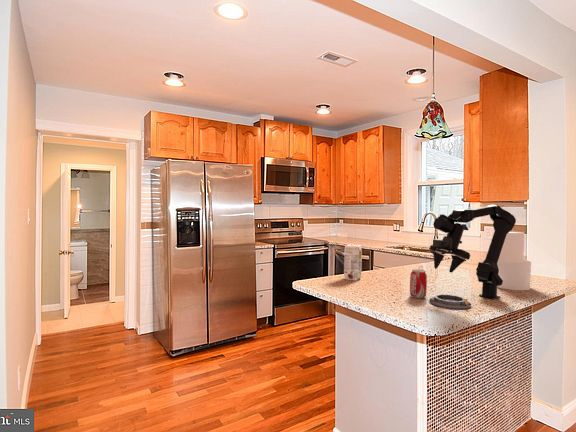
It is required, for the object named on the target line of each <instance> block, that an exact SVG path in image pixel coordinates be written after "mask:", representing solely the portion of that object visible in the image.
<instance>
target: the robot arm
mask: <svg viewBox="0 0 576 432" xmlns="http://www.w3.org/2000/svg"><path fill="white" fill-rule="evenodd" d="M486 216H489V218H490V220H491V221H492V226H493V229H494V231H493V232H494V235H493V234H492V238H491V241H490V243H489V248H488V250H487V252H486V255H485V256H486V257H485V259H484V260H483V261H479V262H478V263H477V267H476V269H475V270H476V272H475V273H476V276H477V277H476V278H477V280H478V283H482V288H481V294H478V296H479V297H483V298H486V299H491V300H495V299H499V298H501V296H500V295H498V287H497V286H500V285H502V283H503V280H502V279H501V278H500V276H499V275H498V273H499V269H498V265H497V262H498V259H499V256H500V253H501V250H502V247H503V244H504V241H505V238H506V235H507V233H509V232H512V230H514V229H513V228H514V227H515V225H516V223H517V219H516V218H515V215H513V214H511V213H510V211H507V210H505V209H503V207H501V206H500V205H498V204H490V205H487V206H486V205H485V206H481V207H475V208H471V209H459V208H458V209H453V210H452V212H451V213H450V214H448V216H447V215H445V214H441V213H440V214H439V216H438V217H436V218H435V219H434V221H433V228H434V229H436V230H438V231H440V232H443V233H445V234H446V236H445V235H444V236H443V238H433V239H432V244H431V245H430V246H429V249H428V250H429V251H430V253H432V254H431V255H432V256H433V264H434V266H433V268H434V269H438V267H439V266H440V265H441V262H442V261H443V259H444V258H445V254H449V255H450V256H451V262H450V266H449V270H448V271H449V273H453V272H455V270H457V268H458V267H459V266H461V265H462V264H463V263H465V262H467V260H468V261H469V260H470V258H471V254H470V252H469V251H466V250H464V249H460V248H459V245H461V244H462V243H463V240H461V239H462V236H463V233H464V231H469V228H468V226H467V224H468V223H470V222H471V221H474V220H475V219H476V218H481V217H486ZM466 223H467V224H466Z"/></svg>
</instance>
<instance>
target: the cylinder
mask: <svg viewBox="0 0 576 432" xmlns="http://www.w3.org/2000/svg"><path fill="white" fill-rule="evenodd" d="M493 235H494V231H493V232H492V236H493ZM524 253H525V232H524V231H522V232H520V231H510V232H509V233H507V235H506V238H505V241H504V244H503V247H502V250H501V253H500V256H499V259H498V262H497V265H498V269H499V273H498V275H499V276H500V278H501V279H502V280H503V283H502V285H500V286H497V288H500V289H504V290H505V289H506V290H511V291H529V290H530V289H531V274H532V273H531V272H532V261H531V260H528V259H525V258H524V256H525V254H524Z"/></svg>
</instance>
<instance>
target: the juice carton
mask: <svg viewBox="0 0 576 432" xmlns="http://www.w3.org/2000/svg"><path fill="white" fill-rule="evenodd" d="M362 249H363V248H362V245H358V244H357V245H356V244H352V243H349V244H345V246H344V251H343V252H344V255H343V258H344V259H343V260H344V261H343V276H344V280H346V281H347V280H348V281H355V282H356V281H359V280H361V277H362V262H363V261H362V259H363V257H362V256H363V251H362Z"/></svg>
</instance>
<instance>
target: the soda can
mask: <svg viewBox="0 0 576 432" xmlns="http://www.w3.org/2000/svg"><path fill="white" fill-rule="evenodd" d="M426 272H427V271H426V270H424V269H412V270H411V273H410V278H409V294H410V296H411V297H412V298H414V299H424V298H425V297H427V288H428V287H427V286H428V285H427V283H428V275H427V273H426Z"/></svg>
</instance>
